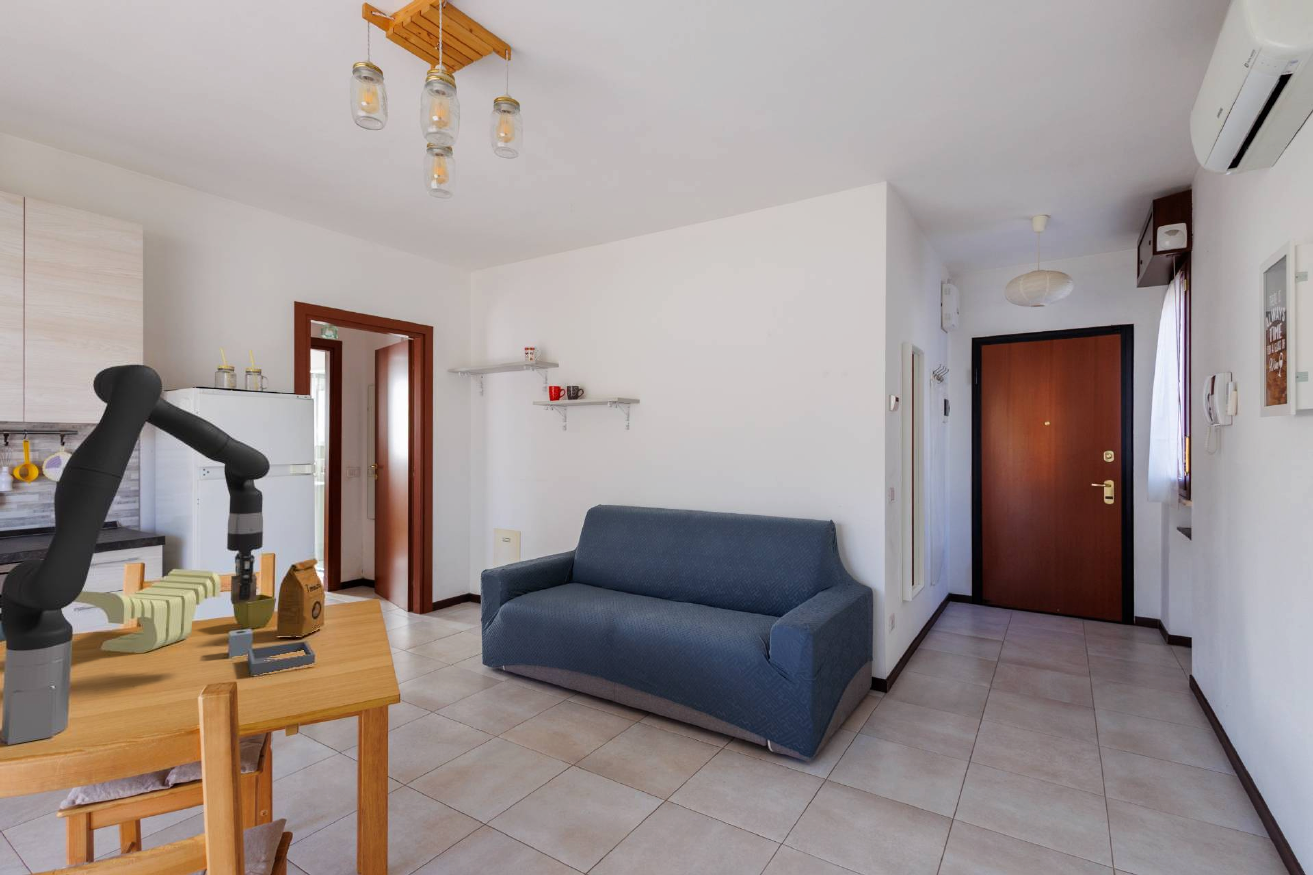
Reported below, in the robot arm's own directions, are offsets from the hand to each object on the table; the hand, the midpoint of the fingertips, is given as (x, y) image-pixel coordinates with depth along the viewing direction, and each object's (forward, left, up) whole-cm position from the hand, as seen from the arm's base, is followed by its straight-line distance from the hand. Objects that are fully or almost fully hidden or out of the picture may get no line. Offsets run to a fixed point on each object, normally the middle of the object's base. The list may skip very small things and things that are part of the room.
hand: (243, 596), depth 158 cm
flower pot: (+40, -6, -18) cm, 44 cm away
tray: (-1, -9, -18) cm, 20 cm away
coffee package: (+25, -17, -18) cm, 35 cm away
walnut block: (0, 0, -1) cm, 1 cm away
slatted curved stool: (+35, +19, -18) cm, 44 cm away
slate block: (+13, -1, -18) cm, 22 cm away
